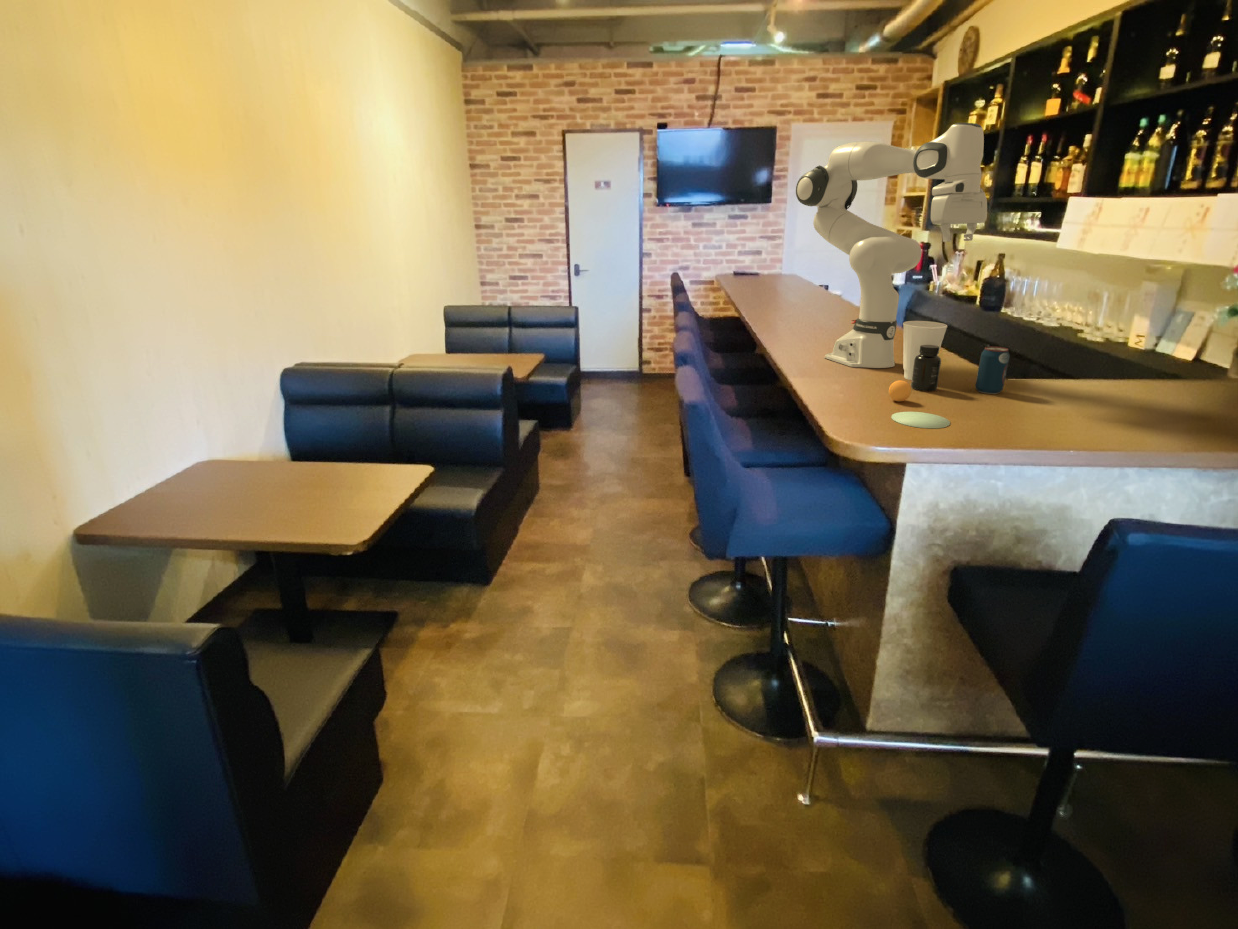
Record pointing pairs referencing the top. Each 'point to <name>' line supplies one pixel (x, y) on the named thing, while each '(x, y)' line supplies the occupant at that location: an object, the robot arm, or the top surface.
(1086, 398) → the top surface
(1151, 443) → the top surface
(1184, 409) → the top surface
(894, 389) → the ball
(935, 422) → the pale green disc
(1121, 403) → the top surface
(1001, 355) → the soda can
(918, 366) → the supplement bottle
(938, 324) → the cup
